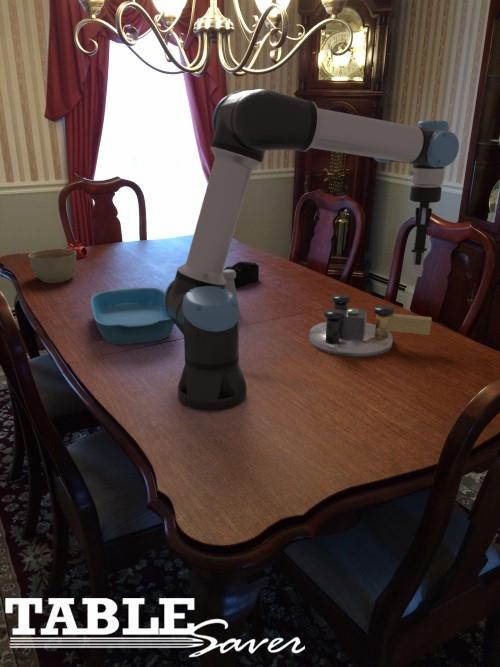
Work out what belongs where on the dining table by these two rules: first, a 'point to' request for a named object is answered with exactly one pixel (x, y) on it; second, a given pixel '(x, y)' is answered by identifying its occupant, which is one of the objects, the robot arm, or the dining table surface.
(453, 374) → the dining table surface
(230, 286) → the salt shaker
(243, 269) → the film camera
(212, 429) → the dining table surface
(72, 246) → the pomegranate
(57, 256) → the planter bowl
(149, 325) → the casserole dish
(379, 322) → the brass bar with knob
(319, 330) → the levelling base
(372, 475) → the dining table surface
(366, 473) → the dining table surface
